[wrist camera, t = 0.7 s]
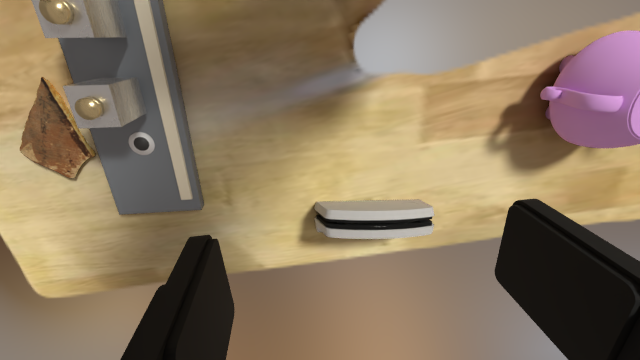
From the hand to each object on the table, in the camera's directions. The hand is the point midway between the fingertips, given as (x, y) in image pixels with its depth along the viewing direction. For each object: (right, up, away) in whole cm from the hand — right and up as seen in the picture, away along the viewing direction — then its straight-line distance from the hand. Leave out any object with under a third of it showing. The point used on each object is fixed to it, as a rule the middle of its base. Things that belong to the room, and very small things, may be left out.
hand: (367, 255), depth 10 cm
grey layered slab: (+6, -2, +37) cm, 38 cm away
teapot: (+36, +15, +32) cm, 51 cm away
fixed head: (-24, +19, +22) cm, 38 cm away
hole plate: (-24, +11, +28) cm, 38 cm away
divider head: (-24, +12, +25) cm, 37 cm away
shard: (-35, +9, +29) cm, 46 cm away
